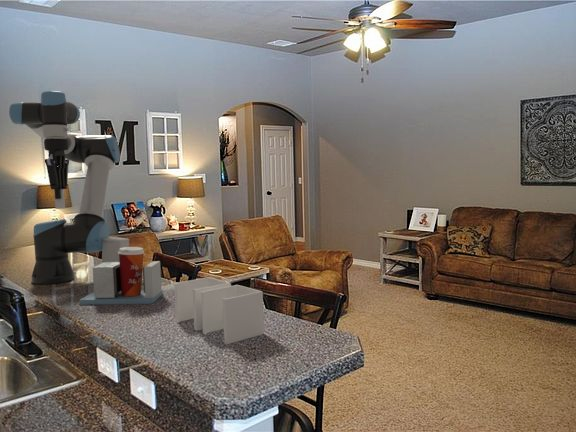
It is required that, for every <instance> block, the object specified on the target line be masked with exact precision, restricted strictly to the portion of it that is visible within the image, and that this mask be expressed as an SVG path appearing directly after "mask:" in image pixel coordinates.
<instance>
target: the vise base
mask: <svg viewBox="0 0 576 432" xmlns="http://www.w3.org/2000/svg"><path fill="white" fill-rule="evenodd" d="M161 273H162V270H161V261H160V260H157V261H156V260H155V261H154V260H152V261H151V262H149V263H148V264H146V265H145V266H144V265H143V269H142V280H143V289H141V294H140V295H138V296H123V295H122V294H119V295H118V296H116V297H115V298H94V291H91V293H89V294H87V295H86V296H84V297H82V298H80V299H79V305H80V306H81V305H83V306H87V305H90V304H93V305H137V304H138V305H142V304H143V305H145V304H146V305H147V304H148V305H149V304H151V305H152V304H153V303H155V302H156V301H157V300H159V298H160V297H161V296H163V295H164V293H163V292H164V291H163V289H162V275H161Z"/></svg>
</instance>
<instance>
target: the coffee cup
mask: <svg viewBox="0 0 576 432" xmlns="http://www.w3.org/2000/svg"><path fill="white" fill-rule="evenodd" d="M118 254H119V262H120V280H121V294H122V295H123V296H138V295H140V294H141V290H142V285H143V283H142V280H143V268H144V254H145V251H144V248H143V247H141V246H140V247H139V246H129V247H123V248H120V249H119V252H118Z"/></svg>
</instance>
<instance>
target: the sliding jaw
mask: <svg viewBox="0 0 576 432" xmlns="http://www.w3.org/2000/svg"><path fill="white" fill-rule="evenodd" d="M92 275H93V276H92V278H93V292H94V298H115V297H116V296H118V295H119V294H121V280H120V262H104V263H102V262H101V263H99V264H98V265H95V266H93V267H92Z"/></svg>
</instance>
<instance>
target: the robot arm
mask: <svg viewBox="0 0 576 432" xmlns="http://www.w3.org/2000/svg"><path fill="white" fill-rule="evenodd" d="M8 115H9V118H10V120H11V123H13V124H14V125H20V126H21V125H26V126H27V127H28V128H29V129H31V130H32V132H33V131H34V133H35V134H37V135H38V137H40V138H41V139H43V148H44V150H45V151H48V158H46V159H44V163H45V165H46V169H47V170H46V172H47V175H48V176H47V177H48V182H49V187H50V190H53V193H54V207H55V208H54V210H55V209H56V210H57V209H58V210H60V209H62V210H63V209H66V199H65V197H66V196H65V190H68V177H69V176H68V175H69V164H70V161H71V162H73V163H78V164H84V165H85V166H86V167H87V169H86V174H85V180H84V185H83V190H82V195H81V202H80V208H79V211H78V214H76V215H74V218H73V222H67V219H65V218H63V219H54V220H48V221H45V222H44V221H43V222H39V223H35V225H33V244H34V258H35V262H34V266H33V270H32V273H31V283H32V284H35V285H51V284H59V283H65V282H70V281H72V280H74V279H75V272H74V269H73V267H72V264H71V262H70V260H69V254H75V253H76V254H77V253H89V254H91V253H98V252H102V239H104V238H109V237H110V234H109V233H110V227H109V225H108V223H107V222H106V219H105V218H104V217H103V212H104V206H105V200H106V193H107V185H108V180H109V173H110V171H111V170H113V168H114V166H115V165H114V164H117V163H120V160H121V153H120V147H119V142H118V141H117V138H116V137H115V136H114V135H110V134H109V135H108V134H103V135H72V134H71V133H70V132H68V131H69V128H68V125H74V124H75V123H78V121H79V119H80V117H81V112H80V109H79V107H78V106H77V105H75V104H74V103H73V102H70V101H67V97H66V94H65V93H64V92H62V91H59V90H58V91H57V90H46V91H43V92H41V95H40V101H34V102H33V101H31V102H30V101H28V102H27V101H25V102H23V101H21V102H13V103H11V104H10V105H9V110H8Z"/></svg>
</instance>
